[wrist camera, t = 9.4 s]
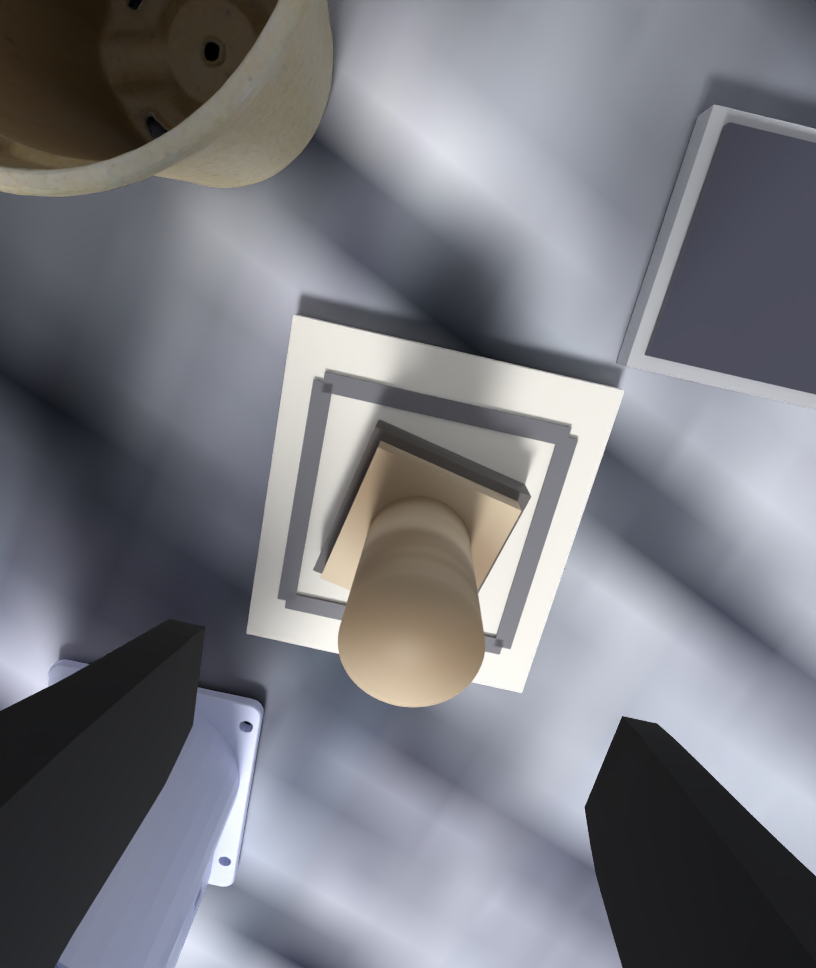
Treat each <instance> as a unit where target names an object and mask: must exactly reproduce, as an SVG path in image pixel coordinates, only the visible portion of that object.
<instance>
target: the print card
mask: <svg viewBox="0 0 816 968" xmlns="http://www.w3.org/2000/svg"><path fill="white" fill-rule="evenodd" d="M623 394H624V390H622V389H620V388H616V387H612V386H608V385H603V384H599V383H594V382H590V381H586V380H581V379H577V378H573V377H568V376H564V375H560V374H555V373H551V372H546V371H542V370H538V369H533V368H529V367H525V366H520V365H516V364H512V363H507V362H503V361H498V360H494V359H490V358H485V357H481V356H477V355H472V354H468V353H464V352H459V351H455V350H450V349H446V348H442V347H437V346H433V345H429V344H424V343H420V342H415V341H411V340H407V339H402V338H398V337H394V336H389V335H385V334H381V333H376V332H372V331H367V330H363V329H359V328H354V327H350V326H346V325H341V324H337V323H333V322H328V321H324V320H319V319H315V318H311V317H306V316H302V315H293V320H292V327H291V334H290V340H289V347H288V354H287V361H286V368H285V374H284V381H283V388H282V395H281V401H280V408H279V415H278V422H277V428H276V435H275V442H274V449H273V456H272V462H271V469H270V476H269V483H268V489H267V496H266V503H265V510H264V516H263V523H262V530H261V537H260V544H259V550H258V557H257V564H256V571H255V577H254V584H253V591H252V598H251V604H250V611H249V618H248V625H247V632H246V634H250V635H255V636H259V637H264V638H269V639H273V640H278V641H283V642H287V643H292V644H297V645H301V646H306V647H311V648H315V649H320V650H324V651H329V652H334V653H338V654H339V651H338V632H339V627H340V624H341V620H342V617H343V614H344V610H345V607H346V603H347V600H348V597H349V593H350V590H348V589H345V588H343V587H341V586H338V585H336V584H333V583H331V582H329V581H326V580H324V579H321V578H320V577H321V575H322V574H321V573H318V572H316V571H313V569H314V566H315V564H316V562H317V560H318V557H319V555H320V553H321V550H322V548H323V546H324V543H325V541H326V539H327V537H328V534H329V532H330V530H331V527H332V525H333V523H334V520H335V518H336V516H337V514H338V511H339V509H340V507H341V504H342V502H343V500H344V498H345V495H346V493H347V491H348V488H349V486H350V484H351V481H352V479H353V477H354V475H355V472H356V470H357V468H358V465H359V463H360V461H361V458H362V456H363V454H364V452H365V449H366V447H367V445H368V442H369V440H370V438H371V435H372V433H373V431H374V429H375V426H376V424H377V422H378V420H379V419H380V420H383V421H385V422H387V423H389V424H391V425H394V426H396V427H398V428H400V429H403V430H405V431H407V432H409V433H412V434H414V435H416V436H418V437H420V438H423V439H425V440H427V441H429V442H432V443H434V444H436V445H438V446H441V447H443V448H445V449H447V450H449V451H452V452H454V453H456V454H458V455H461V456H463V457H465V458H467V459H470V460H472V461H474V462H476V463H478V464H481V465H483V466H485V467H487V468H490V469H492V470H494V471H496V472H499V473H501V474H503V475H505V476H507V477H510V478H512V479H514V480H516V481H519V482H521V483H523V484H525V485H526V487H527V489H528V491H529V493H530V495H531V498H530V500H529V502H528V504H527V506H526V508H525V509H524V511H523V513H522V515H521V517H520V518H519V520H518V522H517V524H516V526H515V528H514V529H513V531H512V533H511V535H510V537H509V538H508V540H507V542H506V544H505V546H504V548H503V549H502V551H501V553H500V555H499V557H498V558H497V560H496V562H495V564H494V566H493V568H492V569H491V571H490V573H489V575H488V577H487V578H486V580H485V582H484V584H483V586H482V587H481V589H480V591H479V593H478V597H479V603H480V610H481V617H482V623H483V630H484V636H485V654H484V659H483V662H482V665H481V667H480V669H479V672H478V673H477V675H476V676H475V678H474V679H473V681H472V682H473V683H478V684H482V685H487V686H492V687H496V688H501V689H506V690H510V691H515V692H520V693H522V691H523V688H524V685H525V682H526V679H527V676H528V673H529V670H530V667H531V664H532V661H533V659H534V656H535V653H536V650H537V647H538V644H539V641H540V638H541V635H542V632H543V629H544V626H545V623H546V620H547V617H548V614H549V611H550V609H551V606H552V603H553V600H554V597H555V594H556V591H557V588H558V585H559V582H560V579H561V576H562V573H563V570H564V567H565V564H566V562H567V559H568V556H569V553H570V550H571V547H572V544H573V541H574V538H575V535H576V532H577V529H578V526H579V523H580V520H581V517H582V515H583V512H584V509H585V506H586V503H587V500H588V497H589V494H590V491H591V488H592V485H593V482H594V479H595V476H596V473H597V470H598V467H599V465H600V462H601V459H602V456H603V453H604V450H605V447H606V444H607V441H608V438H609V435H610V432H611V429H612V426H613V423H614V420H615V418H616V415H617V412H618V409H619V406H620V403H621V400H622V397H623Z"/></svg>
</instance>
